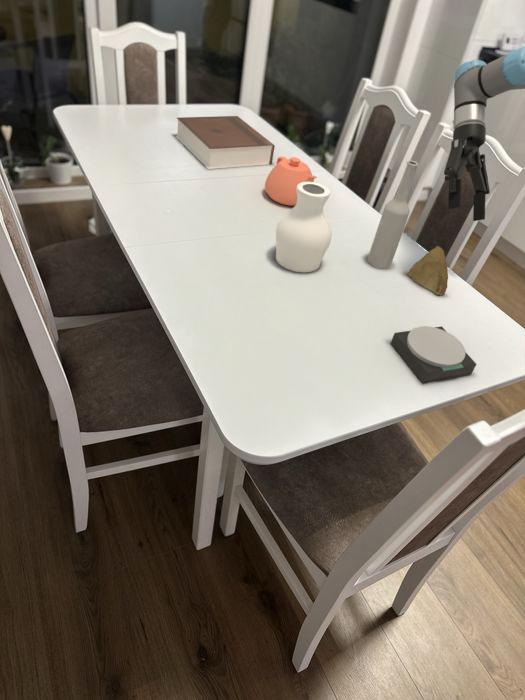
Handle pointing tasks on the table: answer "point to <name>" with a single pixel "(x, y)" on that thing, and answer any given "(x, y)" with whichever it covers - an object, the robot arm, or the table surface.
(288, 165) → the teapot
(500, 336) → the table surface
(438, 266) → the rock
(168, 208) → the table surface
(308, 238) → the vase
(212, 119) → the book
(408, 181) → the bottle
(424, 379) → the scale
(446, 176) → the robot arm
